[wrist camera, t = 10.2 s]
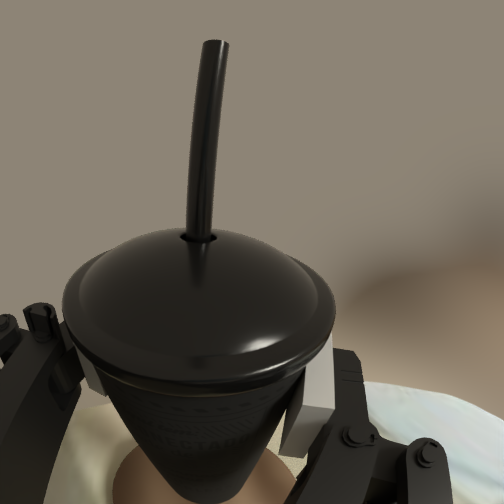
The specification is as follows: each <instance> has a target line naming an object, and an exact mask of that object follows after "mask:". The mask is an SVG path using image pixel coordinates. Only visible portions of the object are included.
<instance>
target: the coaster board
mask: <svg viewBox="0 0 504 504" xmlns="http://www.w3.org/2000/svg"><path fill="white" fill-rule="evenodd" d="M295 482H296V480H295V478H294V476H293V475H292V473H291V471H290V470H289V469H288V467H287V466H286V465H285V464H284V462H283V461H282V460H280V459H279V458H278V457H277V456H276V455H275V454H274V453H273V452H271V451H270V450H269V449H267V448H265V450H264V452H263V453H262V455H261V457H260V459H259V460H258V462H257V464H256V466H255V467H254V469H253V471H252V472H251V474H250V476H249V477H248V479H247V480H246V482H245V484H244V485H243V487H242V488H241V490H240V491H239V492H238V494H236V495H235V496H234V497H233V498H231V499H230V500H228V501H225V502H223V503H219V504H283V503H284V501H285V500H286V498H287V496H288V495H289V493H290V491H291V490H292V488H293V486H294V484H295ZM113 503H114V504H197V503H194V502H191V501H188V500H186V499H184V498H183V497H181V496H180V495H179V494H177V493H176V492H175V491H174V490H173V488H172V487H171V486H170V485H169V484H168V483H167V481H166V480H165V479H164V478H163V477H162V475H161V474H160V473H159V472H158V470H157V469H156V468H155V467H154V465H153V464H152V463H151V461H150V460H149V459H148V457H147V456H146V455H145V453H144V452H143V450H142V449H141V448H140V446H139V445H138V446H137V447H136V448H135V449H133V450H132V451H131V452H130V453H129V454H128V455H127V456H126V458H125V459H124V460H123V462H122V463H121V465H120V467H119V468H118V470H117V473H116V476H115V479H114V483H113Z"/></svg>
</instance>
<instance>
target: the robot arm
mask: <svg viewBox="0 0 504 504" xmlns="http://www.w3.org/2000/svg"><path fill="white" fill-rule="evenodd" d="M23 313H24V316H25V319H26V322H27V324H28V327H29V331H28V330H24V329H21V328H19V326H18V323H17V320H16V318H15V317H14V316H13V315H10V314H2V315H0V358H1V360H2V362H3V364H4V366H3V368H2V369H0V504H43V501H44V497H45V494H46V490H47V486H48V483H49V479H50V476H51V473H52V469H53V466H54V463H55V460H56V457H57V454H58V451H59V448H60V445H61V443H62V440H63V437H64V434H65V432H66V429H67V426H68V424H69V421H70V419H71V416H72V414H73V411H74V409H75V406H76V404H77V402H78V399H79V397H80V394H81V385H80V382H81V380H83V379H84V377H85V378H86V380H87V383H88V386H89V388H91V389H92V390H94V391H96V392H98V393H99V394H101V395H103V396H105V397H106V396H107V395H108V394H107V392H106V391H105V389H104V387H103V385H102V383H101V381H100V379H99V377H98V375H97V373H96V371H95V369H94V367H93V365H92V363H91V362H90V361H89V360H88V359H87V358H86V357H85V356H84V355H83V354H82V353H81V352H80V350H79V349H78V348H77V347H76V346H75V344H74V342H73V341H72V339H71V337H70V335H69V333H68V330H67V328H66V325H65V321H63V322H62V323H60V324H59V322H58V319H57V315H56V311H55V308H54V307H53V306H52V305H50V304H48V303H34V304H32V305H30V306H27V307H26V308H25V309H23ZM363 382H364V380H363V375H362V369H361V362H360V360H359V359H358V357H357V356H356V354H355V353H354V351H350V350H343V349H336V348H333V347H332V333H330V336H329V338H328V340H327V342H326V344H325V346H324V347H323V348H322V350H321V351H320V352H319V353H318V354H317V356H316V357H315V358H314V359H313V360H311V361H310V362H309V363H308V364H307V365H306V367H305V369H304V371H303V374H302V376H301V378H300V380H299V383H298V385H297V387H296V389H295V391H294V394H293V396H292V398H291V400H290V402H289V404H288V406H287V408H286V415H285V421H284V427H283V432H282V438H281V444H280V449H279V454H278V455H282V456H289V457H296V458H304V457H305V455H306V454H307V452H308V457H307V465H306V466H305V467H304V468H303V470H302V471H301V472H300V473H299V475H298V476H297V477H296V479H297V481H296V482H295V484H294V486H293V488H292V490H291V491H290V493H289V495H288V496H287V498H286V500H285V501H284V503H283V504H453V499H452V489H451V481H450V474H449V468H448V462H447V456H446V453H445V450H444V448H443V447H442V446H441V445H440V443H439V442H437V441H435V440H433V439H431V438H425V437H424V438H419V439H416V440H415V441H413V442H412V443H411V444H410V445H409V446H407V445H403V444H400V443H396V442H393V441H389V440H387V439H384V438H382V437H381V436H380V435H379V433H378V430H377V428H376V427H375V426H374V425H373V424H372V423H370V422H369V418H368V410H367V402H366V394H365V387H364V384H363Z"/></svg>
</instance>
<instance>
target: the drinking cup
mask: <svg viewBox="0 0 504 504" xmlns="http://www.w3.org/2000/svg"><path fill="white" fill-rule="evenodd" d="M228 51H229V44H228V43H227V42H225V41H222V40H208V41H205V42H204V43H203V46H202V53H201V59H200V66H199V72H198V80H197V88H196V95H195V103H194V112H193V122H192V132H191V144H190V157H189V170H188V186H187V207H186V209H187V210H186V228H175V229H167V230H161V231H156V232H152V233H148V234H145V235H141V236H138V237H136V238H133V239H131V240H129V241H127V242H124V243H122V244H120V245H118V246H117V247H115V248H113V249H111V250H109V251H106V252H104V253H102V254H100V255H98V256H96V257H94V258H92V259H91V260H89V261H88V262H86V263H85V264H84V265H82V266H81V267H80V268H79V269H78V270H77V271H76V272H75V273H74V274H73V275H72V276H71V278H70V279H69V281H68V283H67V284H66V287H65V290H64V293H63V299H62V312H63V317H64V321H65V325H66V328H67V330H68V333H69V335H70V337H71V339H72V341H73V342H74V344H75V346H76V347H77V348H78V349H79V350H80V352H81V353H82V354H83V355H84V356H85V357H86V358H87V359H88V360H89V361H90V362H91V363H92V365H93V367H94V369H95V371H96V373H97V375H98V377H99V379H100V381H101V383H102V385H103V387H104V389H105V391H106V392H107V394H108V396H109V398H110V399H111V402H112V403H113V405H114V407H115V409H116V410H117V412H118V414H119V415H120V417H121V419H122V420H123V422H124V423H125V425H126V427H127V428H128V430H129V431H130V433H131V434H132V436H133V437H134V439H135V440H136V442H137V443H138V445H139V446H140V448H141V449H142V450H143V452H144V453H145V455H146V456H147V457H148V459H149V460H150V461H151V463H152V464H153V465H154V467H155V468H156V469H157V470H158V472H159V473H160V474H161V475H162V477H163V478H164V479H165V480H166V481H167V483H168V484H169V485H170V486H171V487H172V488H173V490H174V491H175V492H176V493H177V494H179V495H180V496H181V497H183V498H184V499H186V500H188V501H191V502H194V503H197V504H219V503H223V502H225V501H228V500H230V499H231V498H233V497H234V496H235V495H236V494H238V492H239V491H240V490H241V488H242V487H243V485H244V484H245V482H246V480H247V479H248V477H249V476H250V474H251V472H252V471H253V469H254V467H255V466H256V464H257V462H258V460H259V459H260V457H261V455H262V453H263V452H264V450H265V448H266V446H267V444H268V443H269V441H270V439H271V437H272V435H273V433H274V431H275V430H276V428H277V426H278V424H279V422H280V420H281V418H282V416H283V414H284V412H285V410H286V408H287V406H288V404H289V402H290V400H291V398H292V396H293V394H294V391H295V389H296V387H297V385H298V383H299V380H300V378H301V376H302V374H303V371H304V369H305V367H306V365H307V364H308V363H309V362H310V361H311V360H313V359H314V358H315V357H316V356H317V354H318V353H319V352H320V351H321V350H322V348H323V347H324V346H325V344H326V342H327V340H328V338H329V336H330V333H331V331H332V328H333V325H334V321H335V314H336V306H335V300H334V296H333V294H332V292H331V289H330V288H329V286H328V284H327V283H326V282H325V281H324V279H323V278H322V277H321V276H320V275H319V274H318V273H316V272H315V271H314V270H313V269H311V268H310V267H308V266H307V265H305V264H304V263H302V262H300V261H298V260H296V259H294V258H292V257H290V256H288V255H286V254H284V253H282V252H280V251H279V250H277V249H276V248H274V247H272V246H270V245H268V244H266V243H264V242H262V241H259V240H257V239H254V238H251V237H248V236H245V235H242V234H239V233H234V232H230V231H225V230H218V229H212V213H213V197H214V184H215V171H216V159H217V147H218V136H219V127H220V117H221V107H222V98H223V90H224V81H225V74H226V65H227V58H228Z"/></svg>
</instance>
